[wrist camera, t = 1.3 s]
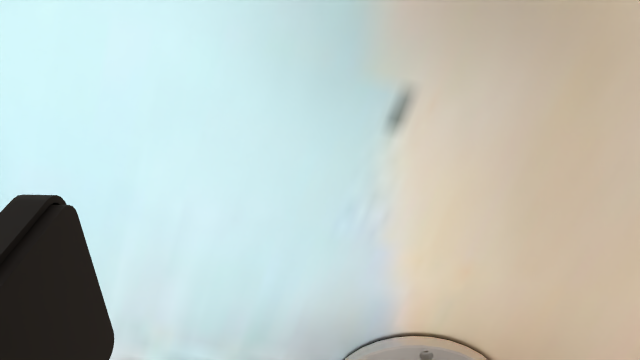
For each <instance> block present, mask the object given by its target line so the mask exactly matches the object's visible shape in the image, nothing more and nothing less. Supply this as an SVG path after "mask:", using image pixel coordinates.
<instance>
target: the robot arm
mask: <svg viewBox="0 0 640 360" xmlns="http://www.w3.org/2000/svg"><path fill="white" fill-rule="evenodd" d="M113 346H114V333H113V329H112V325H111V322H110V319H109V316H108V312H107V309H106V306H105V302H104V299H103V296H102V293H101V289H100V286H99V283H98V280H97V276H96V273H95V270H94V267H93V263H92V260H91V257H90V253H89V250H88V247H87V244H86V240H85V237H84V234H83V231H82V227H81V224H80V221H79V217H78V214H77V212H76V210H75V208H74V207H73V206H70V205H66V203H65V201H64V200H63V199H62V198H61V197H59V196H57V195H19V196H17V197H15V198H14V199H13V200H12V201H11V202H10V203H9V204H8V205H7V206H6V207H5V208H4V209H3V210H2V211H1V212H0V360H109V359H110V356H111V354H112V351H113ZM345 360H487V359H486V358H485V357H484V356H483V355H481V354H479V353H478V352H476V351H474V350H472V349H470V348H469V347H467V346H464V345H461V344H458V343H455V342H453V341H450V340H445V339H440V338H434V337H423V336H407V337H395V338H390V339H386V340H382V341H378V342H375V343H372V344H370V345H368V346H365V347H363V348H361V349H359V350H357V351H356V352H354V353H353V354H351V355H349V356H348V357H347V358H346V359H345Z"/></svg>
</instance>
